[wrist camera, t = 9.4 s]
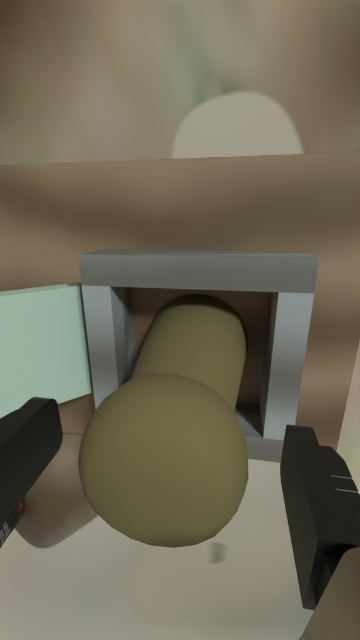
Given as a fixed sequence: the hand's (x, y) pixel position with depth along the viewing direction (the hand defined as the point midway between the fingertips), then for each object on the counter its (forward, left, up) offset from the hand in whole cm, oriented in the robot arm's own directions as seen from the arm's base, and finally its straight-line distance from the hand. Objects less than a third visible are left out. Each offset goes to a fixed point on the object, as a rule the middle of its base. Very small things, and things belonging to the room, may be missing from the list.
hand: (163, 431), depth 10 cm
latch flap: (0, -10, -5) cm, 11 cm away
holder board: (-1, -3, -10) cm, 10 cm away
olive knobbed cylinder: (0, 0, -9) cm, 9 cm away
